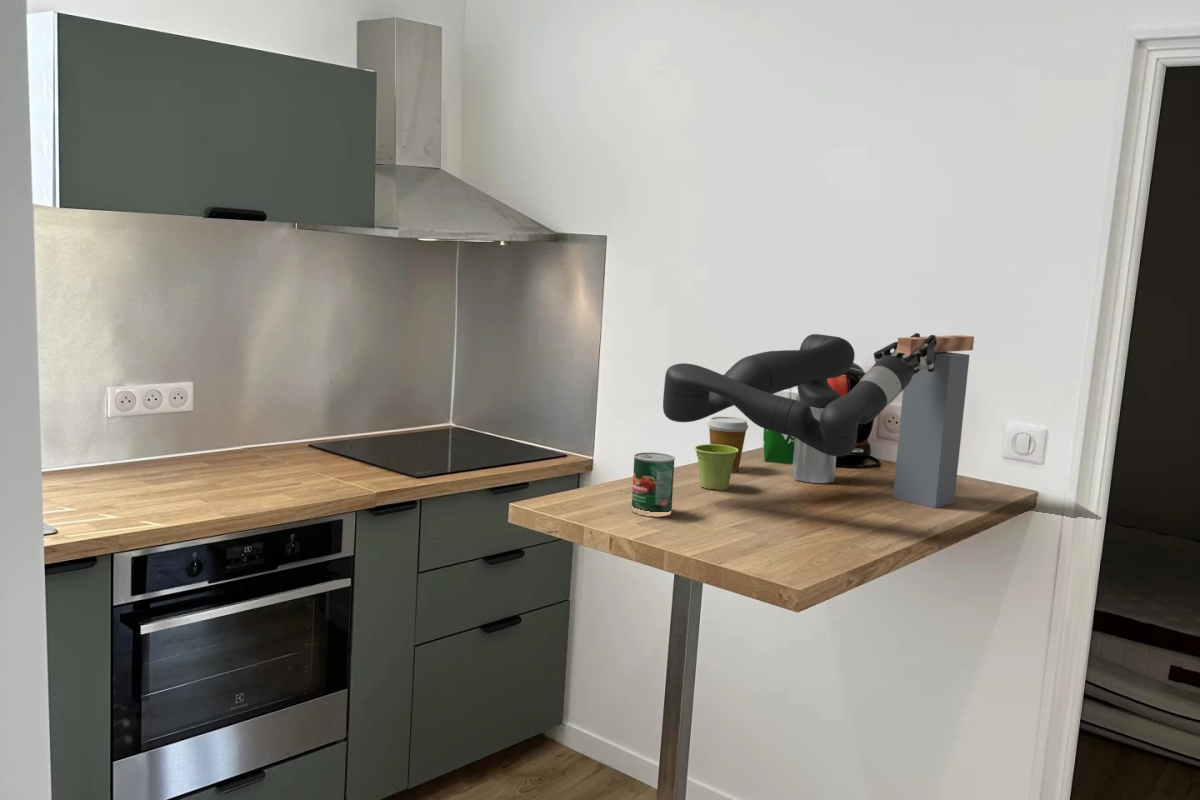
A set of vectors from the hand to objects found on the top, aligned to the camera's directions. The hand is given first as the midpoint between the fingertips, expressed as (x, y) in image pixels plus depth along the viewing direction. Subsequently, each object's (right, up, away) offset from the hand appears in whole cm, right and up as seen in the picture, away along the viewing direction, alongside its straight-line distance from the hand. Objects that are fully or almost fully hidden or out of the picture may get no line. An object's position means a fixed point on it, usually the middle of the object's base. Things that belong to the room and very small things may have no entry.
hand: (926, 337), depth 214 cm
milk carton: (-22, -28, +44) cm, 57 cm away
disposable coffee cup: (-38, -29, +30) cm, 57 cm away
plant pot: (-43, -32, +11) cm, 55 cm away
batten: (+3, -3, +4) cm, 5 cm away
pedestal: (+2, -34, +9) cm, 36 cm away
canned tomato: (-57, -35, -12) cm, 68 cm away
